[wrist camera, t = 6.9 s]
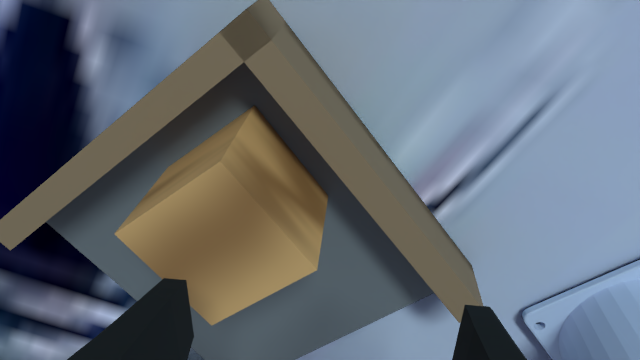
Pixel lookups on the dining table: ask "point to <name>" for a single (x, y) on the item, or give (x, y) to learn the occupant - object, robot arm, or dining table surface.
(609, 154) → the dining table surface
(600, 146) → the dining table surface
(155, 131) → the arena
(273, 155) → the block
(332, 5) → the dining table surface
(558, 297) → the robot arm
